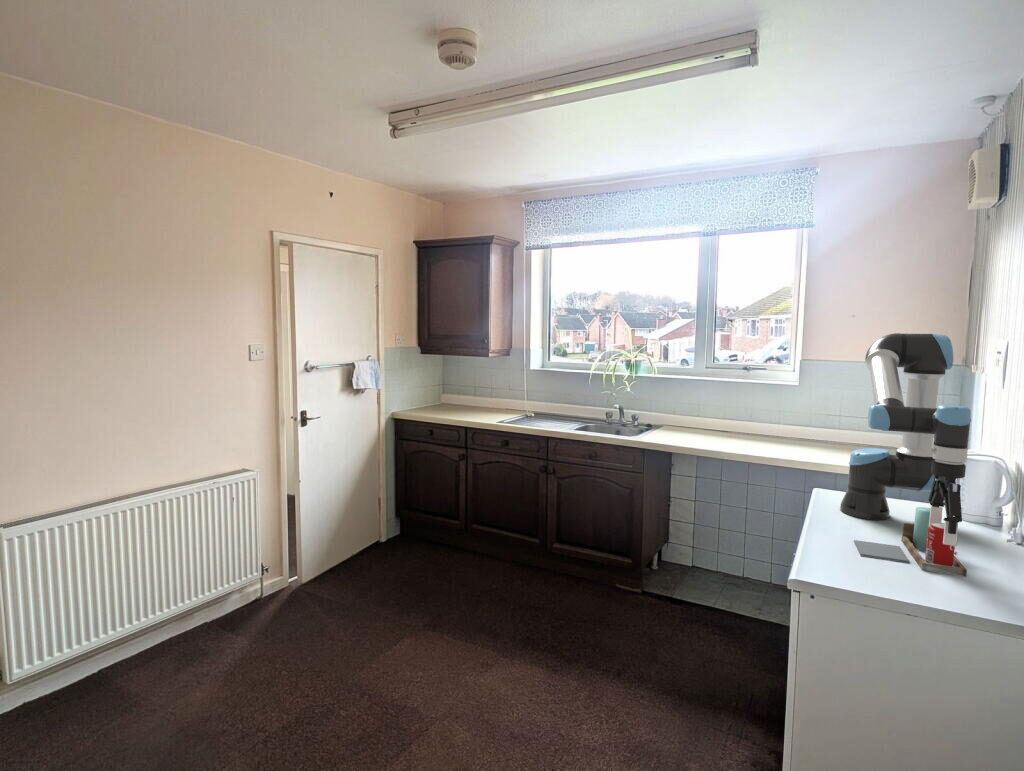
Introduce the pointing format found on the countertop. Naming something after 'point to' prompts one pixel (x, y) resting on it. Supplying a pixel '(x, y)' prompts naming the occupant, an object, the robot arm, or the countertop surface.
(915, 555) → the dispenser rack
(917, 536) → the can
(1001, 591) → the countertop surface
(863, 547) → the coaster
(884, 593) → the countertop surface
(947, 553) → the beverage can
